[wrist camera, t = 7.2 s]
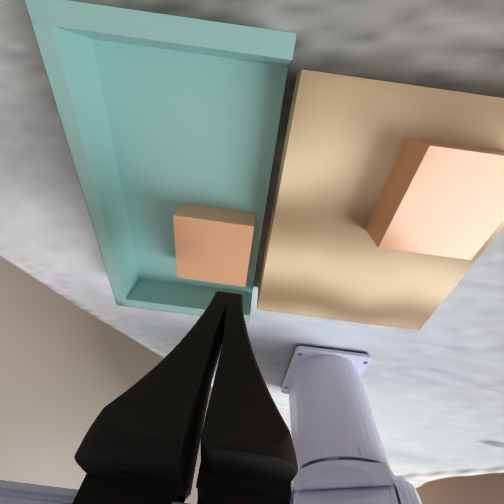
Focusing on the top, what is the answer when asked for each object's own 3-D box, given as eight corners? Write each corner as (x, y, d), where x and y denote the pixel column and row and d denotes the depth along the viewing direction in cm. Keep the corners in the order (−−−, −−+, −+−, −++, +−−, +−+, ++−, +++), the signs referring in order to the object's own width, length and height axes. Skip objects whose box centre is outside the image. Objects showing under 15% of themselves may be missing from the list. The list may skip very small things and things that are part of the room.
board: (403, 306, 20) (419, 330, 18) (258, 287, 20) (256, 309, 18) (541, 109, 12) (597, 111, 10) (296, 74, 12) (302, 69, 10)
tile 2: (247, 269, 19) (245, 286, 17) (185, 261, 19) (177, 277, 17) (255, 213, 16) (254, 226, 14) (183, 202, 16) (173, 215, 14)
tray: (251, 295, 21) (248, 322, 18) (135, 280, 21) (116, 305, 18) (290, 47, 11) (296, 33, 9) (77, 16, 11) (23, -7, 9)
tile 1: (447, 240, 14) (471, 260, 12) (365, 229, 14) (378, 247, 12) (507, 152, 11) (549, 162, 9) (405, 138, 11) (429, 145, 9)
